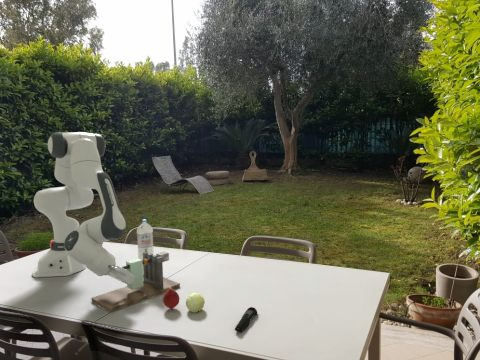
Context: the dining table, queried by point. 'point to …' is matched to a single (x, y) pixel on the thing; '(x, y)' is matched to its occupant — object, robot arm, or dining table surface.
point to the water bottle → (145, 239)
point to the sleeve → (136, 272)
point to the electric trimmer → (246, 319)
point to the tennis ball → (195, 302)
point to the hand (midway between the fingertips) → (127, 281)
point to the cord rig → (151, 288)
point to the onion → (171, 298)
